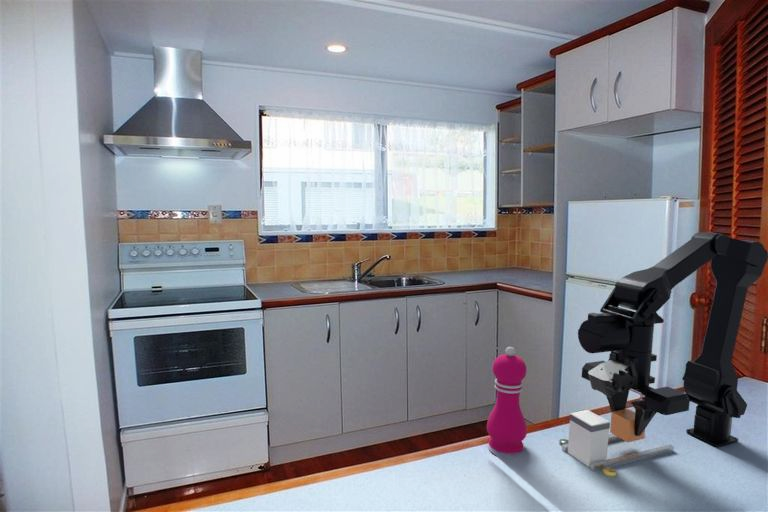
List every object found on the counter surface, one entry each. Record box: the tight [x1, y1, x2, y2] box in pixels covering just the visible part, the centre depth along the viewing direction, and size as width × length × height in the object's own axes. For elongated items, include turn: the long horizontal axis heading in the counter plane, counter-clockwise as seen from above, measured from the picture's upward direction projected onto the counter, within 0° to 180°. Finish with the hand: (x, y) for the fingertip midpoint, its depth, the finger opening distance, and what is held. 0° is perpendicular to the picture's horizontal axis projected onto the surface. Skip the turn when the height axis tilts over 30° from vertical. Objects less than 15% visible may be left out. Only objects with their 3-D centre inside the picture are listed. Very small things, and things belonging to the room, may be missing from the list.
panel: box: [558, 433, 675, 478], centre depth 90 cm, size 20×14×2 cm
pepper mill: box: [486, 346, 528, 458], centre depth 90 cm, size 7×7×20 cm
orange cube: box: [609, 408, 646, 443], centre depth 90 cm, size 4×4×4 cm
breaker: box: [567, 409, 611, 468], centre depth 87 cm, size 4×5×8 cm
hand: (627, 430), depth 90 cm, fingers closed on orange cube, 4 cm apart
